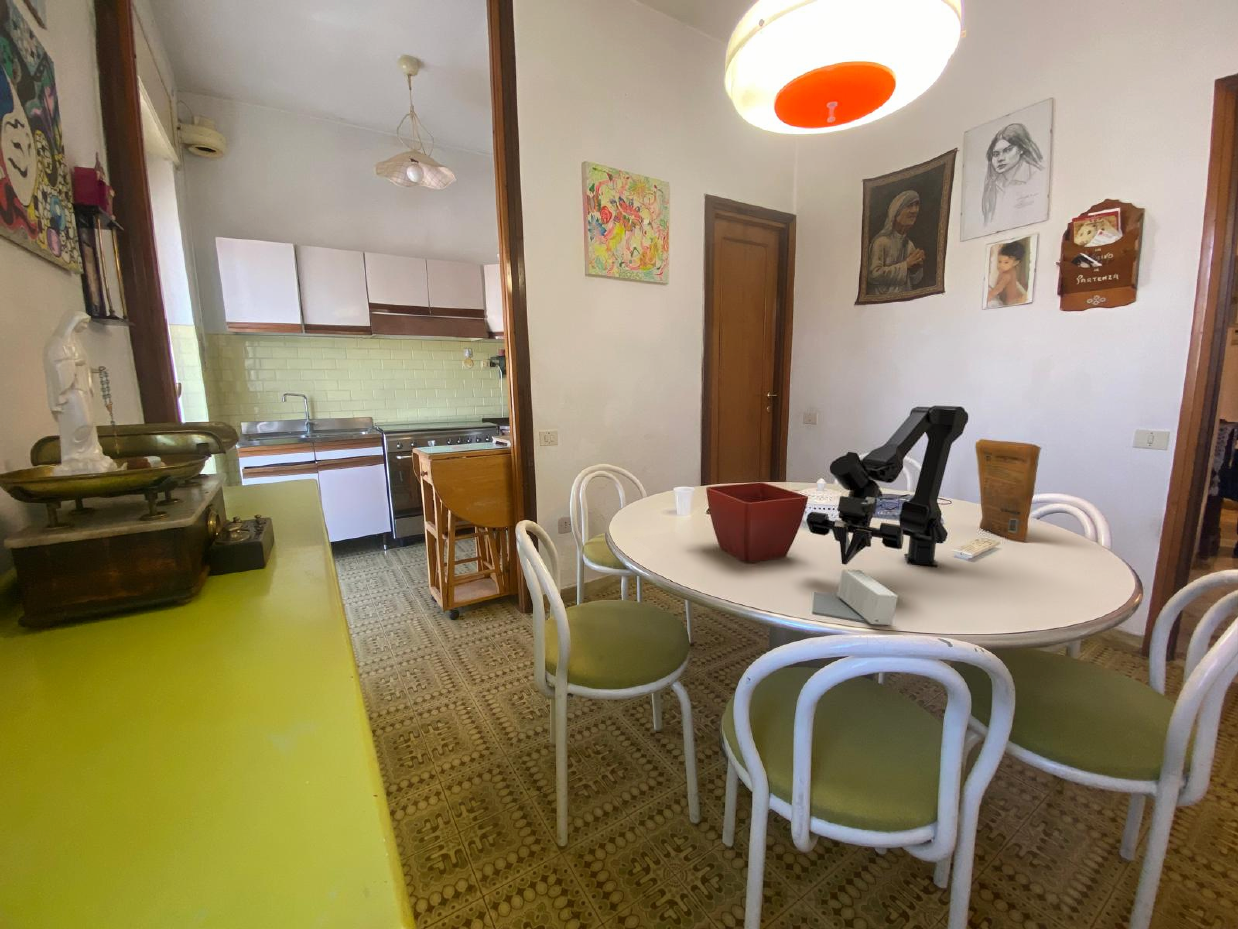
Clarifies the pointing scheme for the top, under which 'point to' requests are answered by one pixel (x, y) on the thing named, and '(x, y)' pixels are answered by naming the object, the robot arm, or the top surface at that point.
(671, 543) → the top surface
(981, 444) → the pancake mix bag
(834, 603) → the mat
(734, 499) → the plant pot
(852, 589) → the skincare box
